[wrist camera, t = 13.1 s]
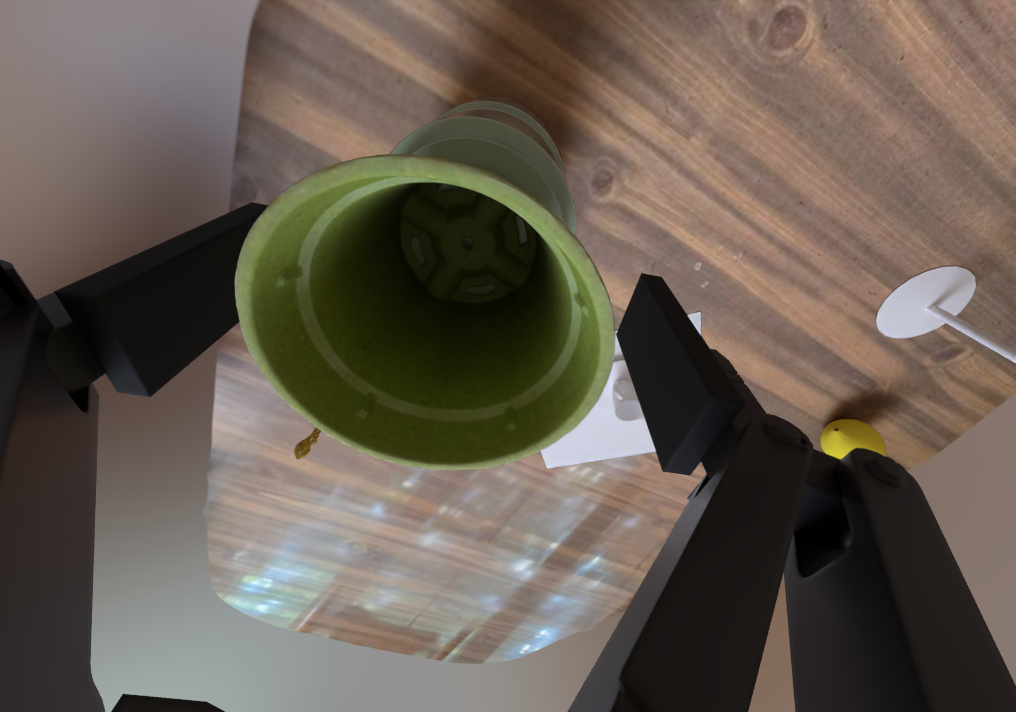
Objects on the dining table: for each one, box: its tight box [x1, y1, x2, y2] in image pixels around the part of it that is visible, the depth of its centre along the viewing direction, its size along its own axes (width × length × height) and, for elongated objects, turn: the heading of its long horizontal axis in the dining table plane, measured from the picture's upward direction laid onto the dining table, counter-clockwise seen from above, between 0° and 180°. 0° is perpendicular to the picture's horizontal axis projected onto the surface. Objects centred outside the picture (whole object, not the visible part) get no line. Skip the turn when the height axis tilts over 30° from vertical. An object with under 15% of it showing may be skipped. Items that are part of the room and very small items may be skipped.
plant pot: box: [235, 154, 615, 470], centre depth 13 cm, size 9×9×9 cm
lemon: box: [820, 419, 886, 459], centre depth 42 cm, size 7×5×5 cm
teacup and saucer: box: [595, 359, 646, 423], centre depth 40 cm, size 9×8×4 cm
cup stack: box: [390, 97, 577, 294], centre depth 23 cm, size 10×10×16 cm
